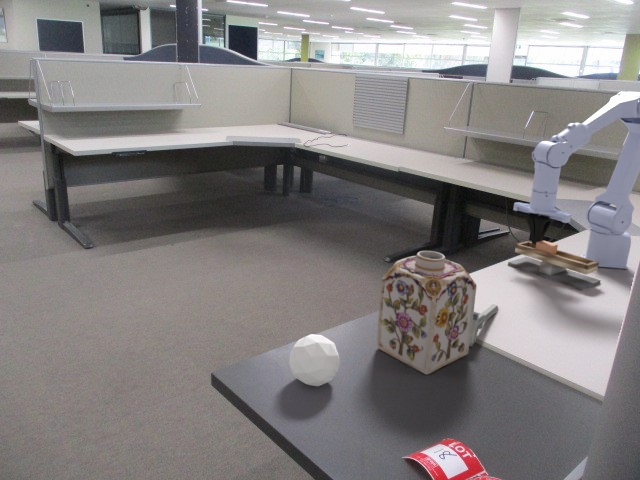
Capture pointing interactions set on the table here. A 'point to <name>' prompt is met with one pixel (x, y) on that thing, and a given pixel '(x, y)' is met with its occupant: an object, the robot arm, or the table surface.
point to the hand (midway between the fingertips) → (536, 243)
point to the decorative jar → (426, 311)
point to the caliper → (480, 321)
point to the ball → (314, 360)
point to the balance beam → (556, 266)
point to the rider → (547, 247)
